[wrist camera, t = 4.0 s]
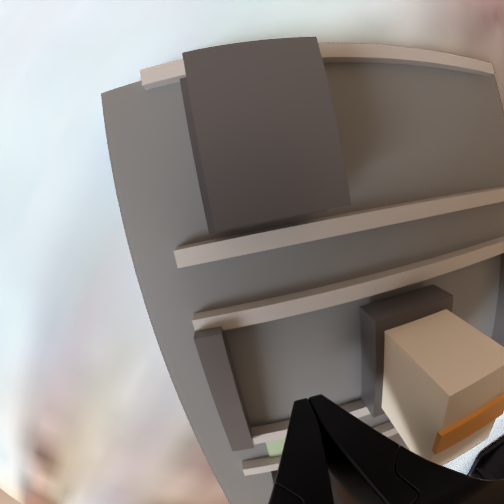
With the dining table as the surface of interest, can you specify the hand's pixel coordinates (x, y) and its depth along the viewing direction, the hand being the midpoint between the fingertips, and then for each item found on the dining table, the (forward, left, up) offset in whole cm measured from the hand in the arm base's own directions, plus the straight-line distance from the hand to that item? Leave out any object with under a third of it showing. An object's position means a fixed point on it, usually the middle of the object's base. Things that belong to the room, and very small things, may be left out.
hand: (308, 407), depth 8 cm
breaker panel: (-3, 0, -3) cm, 5 cm away
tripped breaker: (-4, 0, -2) cm, 4 cm away
